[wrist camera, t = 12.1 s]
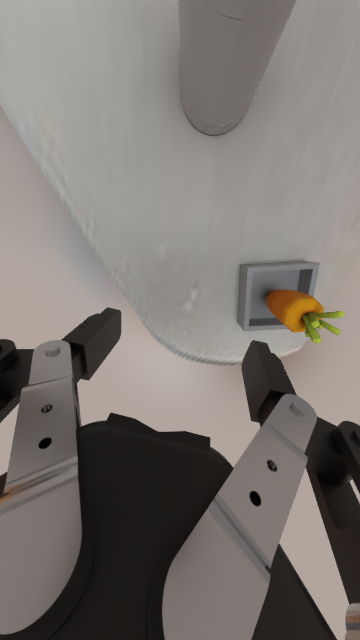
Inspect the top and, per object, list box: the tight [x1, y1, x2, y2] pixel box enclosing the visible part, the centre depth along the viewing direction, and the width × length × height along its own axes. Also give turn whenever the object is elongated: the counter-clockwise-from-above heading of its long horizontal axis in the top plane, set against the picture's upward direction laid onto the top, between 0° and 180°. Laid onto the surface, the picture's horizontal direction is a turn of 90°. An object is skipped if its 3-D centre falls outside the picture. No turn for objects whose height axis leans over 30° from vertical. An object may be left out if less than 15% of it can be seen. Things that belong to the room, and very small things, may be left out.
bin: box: [238, 261, 320, 331], centre depth 32 cm, size 11×11×4 cm
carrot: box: [266, 290, 344, 343], centre depth 26 cm, size 5×5×15 cm
